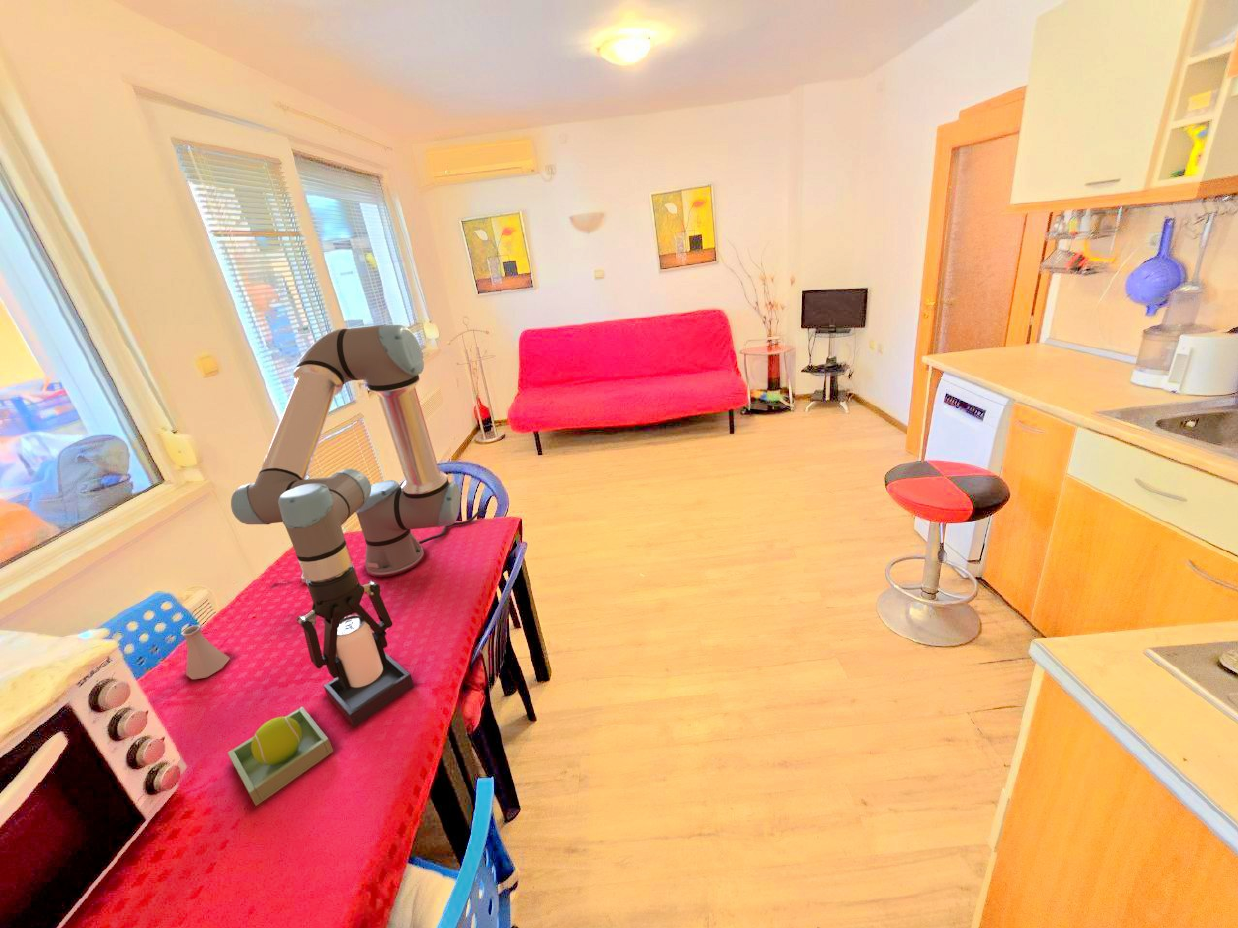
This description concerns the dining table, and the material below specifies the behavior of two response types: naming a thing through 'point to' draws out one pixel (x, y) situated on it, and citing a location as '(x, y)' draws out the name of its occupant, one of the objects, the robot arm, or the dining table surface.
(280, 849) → the dining table surface
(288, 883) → the dining table surface
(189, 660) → the flask
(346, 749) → the dining table surface
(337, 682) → the charcoal tray
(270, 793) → the green tray
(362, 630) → the can
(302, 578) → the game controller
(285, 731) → the tennis ball
